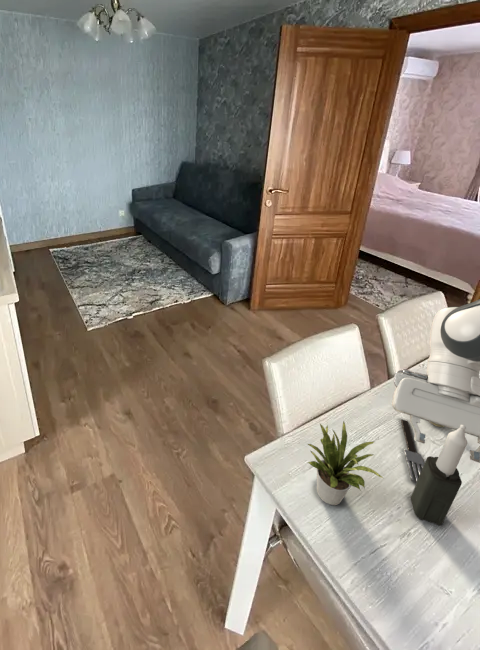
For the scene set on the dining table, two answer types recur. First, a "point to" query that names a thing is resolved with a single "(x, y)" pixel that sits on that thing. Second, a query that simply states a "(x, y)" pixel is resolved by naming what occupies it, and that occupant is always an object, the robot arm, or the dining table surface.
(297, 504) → the dining table surface
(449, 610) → the dining table surface
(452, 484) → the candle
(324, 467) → the house plant
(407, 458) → the fork
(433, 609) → the dining table surface
